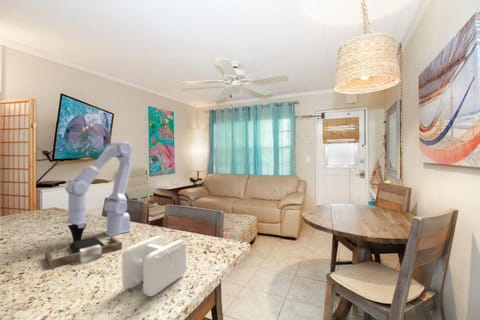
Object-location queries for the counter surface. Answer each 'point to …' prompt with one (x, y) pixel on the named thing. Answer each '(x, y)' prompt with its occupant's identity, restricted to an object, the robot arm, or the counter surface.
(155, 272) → the cable organizer
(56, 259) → the charging dock
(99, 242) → the black rounded slab
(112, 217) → the robot arm
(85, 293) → the counter surface
